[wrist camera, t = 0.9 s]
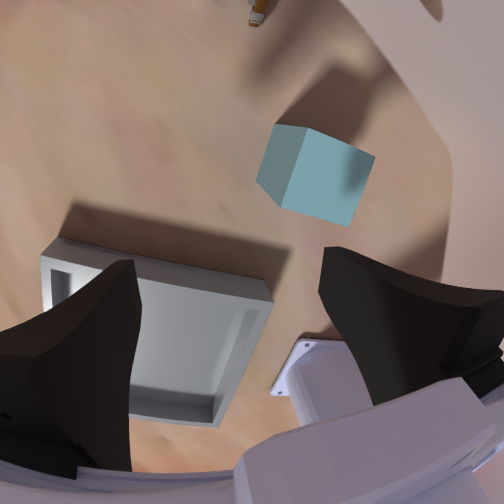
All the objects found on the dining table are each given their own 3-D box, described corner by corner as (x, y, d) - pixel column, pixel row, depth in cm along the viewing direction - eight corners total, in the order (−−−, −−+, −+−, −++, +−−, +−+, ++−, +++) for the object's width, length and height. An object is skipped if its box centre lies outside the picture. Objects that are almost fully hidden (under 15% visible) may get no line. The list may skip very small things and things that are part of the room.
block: (328, 143, 19) (375, 157, 14) (309, 196, 20) (348, 227, 15) (274, 123, 18) (308, 127, 13) (255, 180, 19) (280, 207, 14)
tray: (264, 280, 23) (274, 302, 20) (215, 405, 28) (218, 427, 26) (57, 236, 18) (40, 254, 15) (67, 379, 24) (60, 401, 21)
